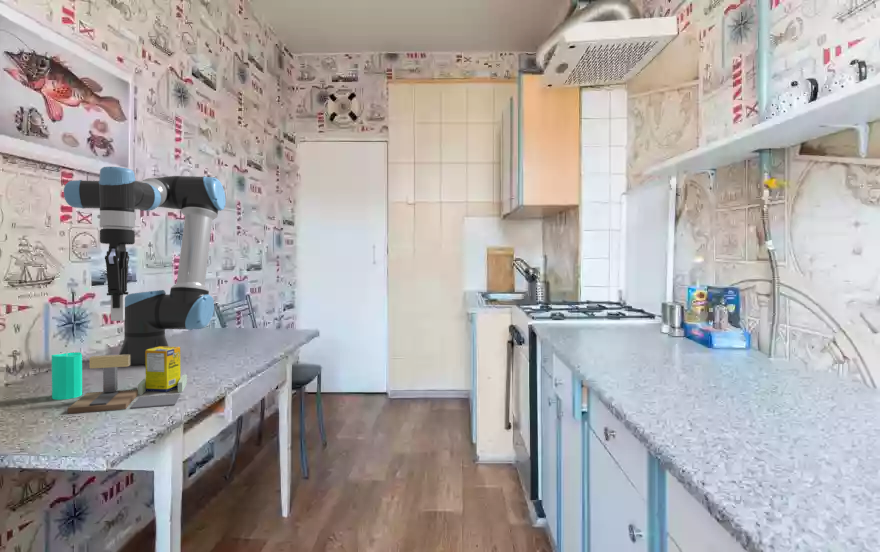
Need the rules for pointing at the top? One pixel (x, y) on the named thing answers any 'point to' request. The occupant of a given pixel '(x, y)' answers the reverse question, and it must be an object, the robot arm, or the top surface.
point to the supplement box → (162, 368)
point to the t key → (109, 368)
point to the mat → (156, 401)
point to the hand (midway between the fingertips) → (117, 320)
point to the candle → (66, 375)
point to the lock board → (103, 401)
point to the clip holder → (181, 385)
